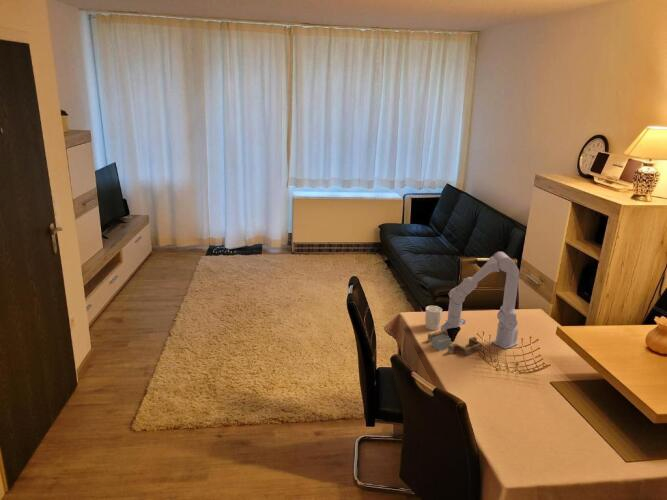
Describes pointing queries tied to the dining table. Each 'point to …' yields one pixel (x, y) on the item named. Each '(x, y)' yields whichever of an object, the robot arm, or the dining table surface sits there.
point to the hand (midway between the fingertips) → (451, 341)
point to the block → (440, 342)
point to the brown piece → (457, 348)
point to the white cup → (433, 317)
